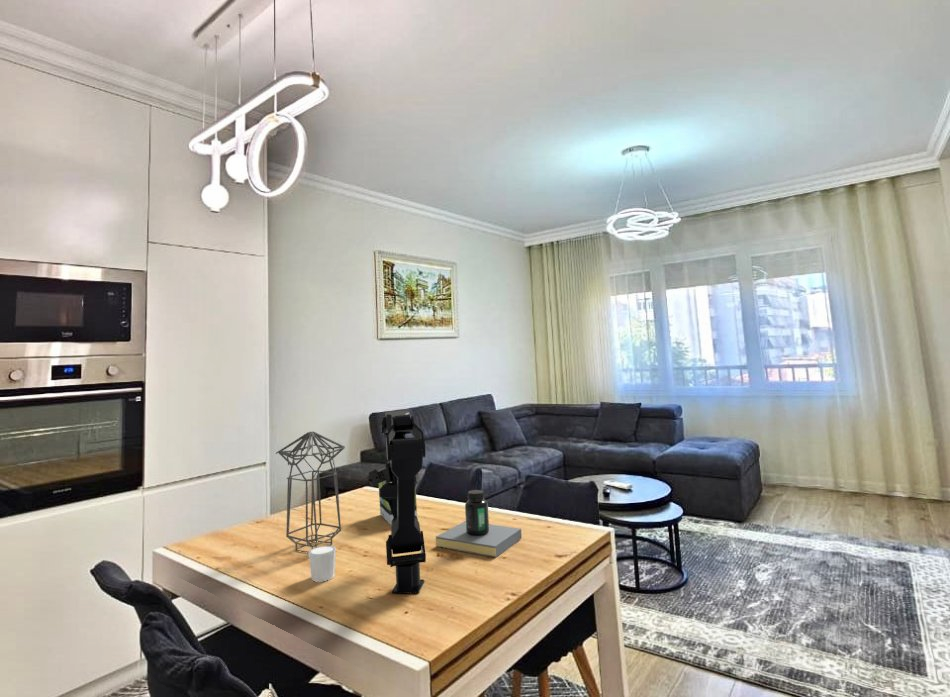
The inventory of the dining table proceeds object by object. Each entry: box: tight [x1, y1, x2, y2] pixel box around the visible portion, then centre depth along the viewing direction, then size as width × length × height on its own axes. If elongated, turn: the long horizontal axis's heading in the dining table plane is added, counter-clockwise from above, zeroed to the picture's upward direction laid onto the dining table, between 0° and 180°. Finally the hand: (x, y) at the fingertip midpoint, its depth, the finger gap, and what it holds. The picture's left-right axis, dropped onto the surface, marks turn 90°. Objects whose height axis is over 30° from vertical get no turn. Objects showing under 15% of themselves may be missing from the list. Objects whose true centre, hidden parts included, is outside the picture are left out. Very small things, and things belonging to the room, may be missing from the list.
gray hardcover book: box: [435, 520, 523, 558], centre depth 145 cm, size 16×20×3 cm
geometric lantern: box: [275, 431, 346, 554], centre depth 149 cm, size 16×16×35 cm
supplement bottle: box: [464, 489, 490, 536], centre depth 146 cm, size 7×7×12 cm
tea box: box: [378, 480, 418, 526], centre depth 175 cm, size 15×10×15 cm
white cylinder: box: [307, 545, 337, 583], centre depth 126 cm, size 7×7×7 cm
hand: (401, 515), depth 132 cm, fingers open, 9 cm apart
